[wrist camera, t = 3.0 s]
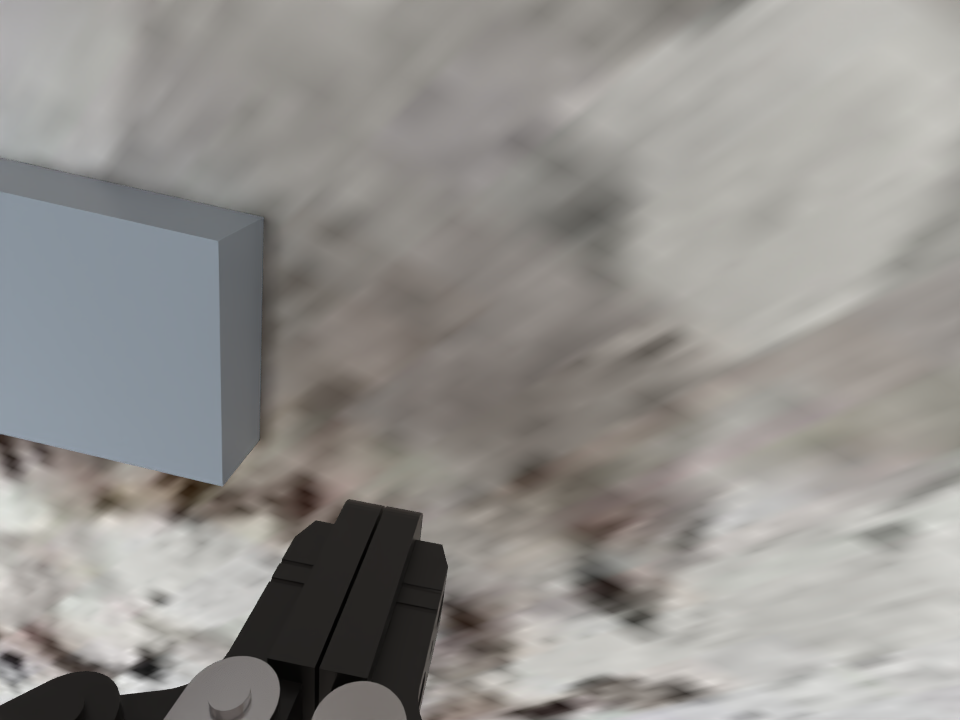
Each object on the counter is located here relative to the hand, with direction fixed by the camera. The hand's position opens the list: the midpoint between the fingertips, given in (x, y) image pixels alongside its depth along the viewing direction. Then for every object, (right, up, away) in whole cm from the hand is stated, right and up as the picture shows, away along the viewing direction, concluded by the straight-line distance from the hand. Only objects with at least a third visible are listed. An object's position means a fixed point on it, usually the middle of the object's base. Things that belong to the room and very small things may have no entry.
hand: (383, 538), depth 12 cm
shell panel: (-12, +6, +8) cm, 15 cm away
